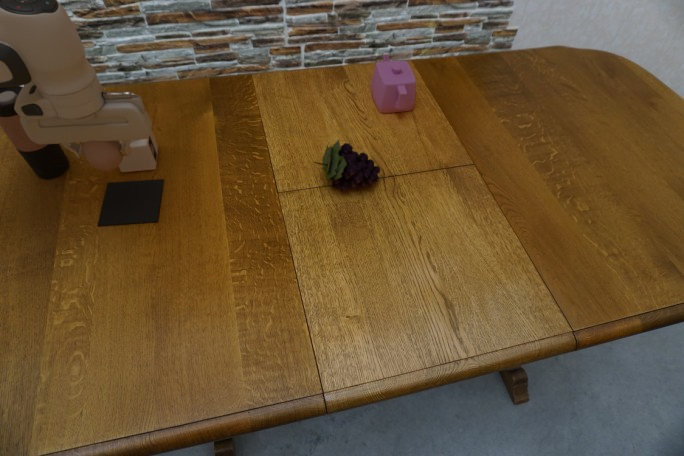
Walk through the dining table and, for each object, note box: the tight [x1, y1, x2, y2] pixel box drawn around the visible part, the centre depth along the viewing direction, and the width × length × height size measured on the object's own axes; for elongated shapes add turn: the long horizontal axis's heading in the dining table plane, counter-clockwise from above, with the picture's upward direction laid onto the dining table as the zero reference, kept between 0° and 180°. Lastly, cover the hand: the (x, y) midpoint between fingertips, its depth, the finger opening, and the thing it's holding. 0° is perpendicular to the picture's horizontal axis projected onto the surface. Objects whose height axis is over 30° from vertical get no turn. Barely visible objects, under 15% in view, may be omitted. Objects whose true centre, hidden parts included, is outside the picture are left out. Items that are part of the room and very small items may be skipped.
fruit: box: [313, 139, 381, 192], centre depth 102 cm, size 10×11×15 cm
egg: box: [81, 140, 123, 172], centre depth 86 cm, size 7×7×9 cm
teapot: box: [370, 54, 417, 114], centre depth 120 cm, size 18×10×10 cm, turn 11°
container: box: [117, 131, 159, 173], centre depth 102 cm, size 8×8×13 cm
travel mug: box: [0, 86, 70, 180], centre depth 96 cm, size 8×8×20 cm
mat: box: [96, 178, 165, 228], centre depth 99 cm, size 12×12×1 cm
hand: (105, 154), depth 87 cm, fingers closed on egg, 6 cm apart
